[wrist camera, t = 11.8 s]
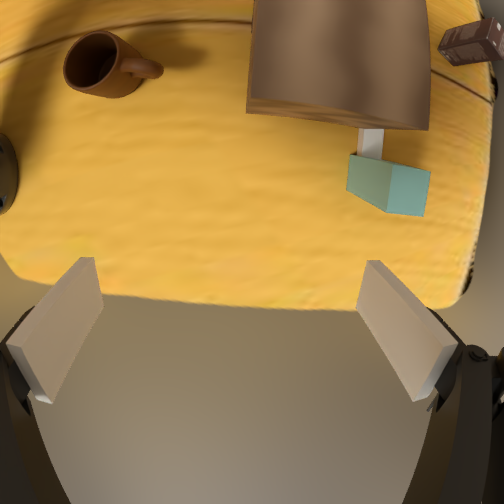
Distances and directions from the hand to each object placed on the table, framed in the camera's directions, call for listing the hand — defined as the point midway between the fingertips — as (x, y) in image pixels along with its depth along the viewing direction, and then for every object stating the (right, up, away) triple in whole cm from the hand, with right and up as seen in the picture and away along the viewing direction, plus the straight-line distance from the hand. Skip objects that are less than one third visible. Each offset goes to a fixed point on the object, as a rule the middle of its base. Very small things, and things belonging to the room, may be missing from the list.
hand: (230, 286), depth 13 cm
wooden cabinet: (+8, +27, +18) cm, 33 cm away
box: (+33, +35, +16) cm, 51 cm away
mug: (-14, +25, +18) cm, 34 cm away
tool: (+17, +18, +22) cm, 33 cm away
